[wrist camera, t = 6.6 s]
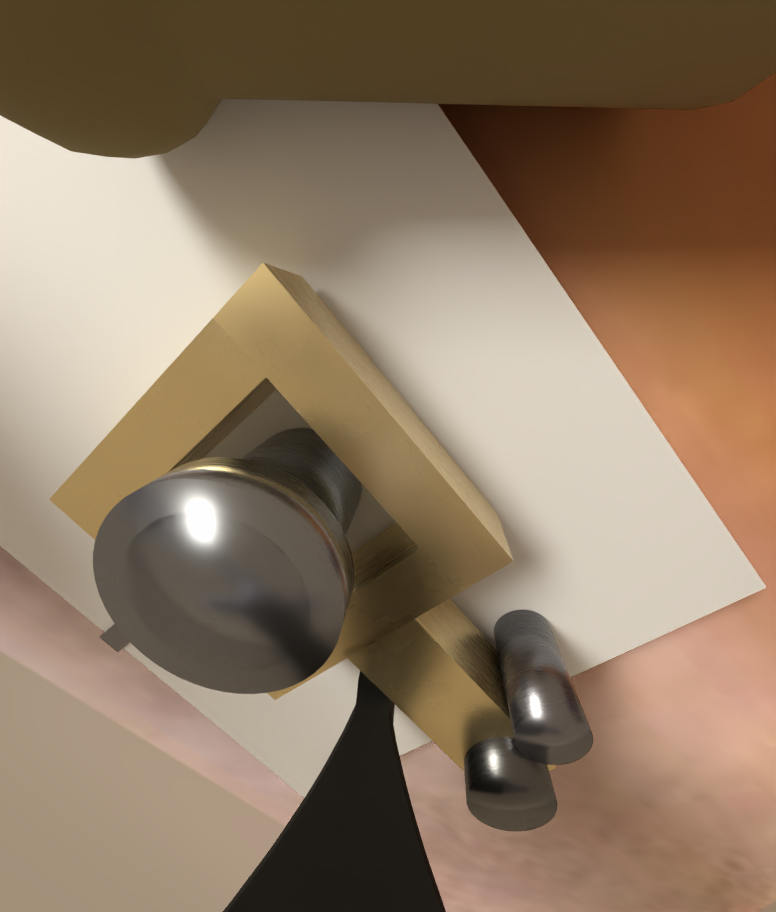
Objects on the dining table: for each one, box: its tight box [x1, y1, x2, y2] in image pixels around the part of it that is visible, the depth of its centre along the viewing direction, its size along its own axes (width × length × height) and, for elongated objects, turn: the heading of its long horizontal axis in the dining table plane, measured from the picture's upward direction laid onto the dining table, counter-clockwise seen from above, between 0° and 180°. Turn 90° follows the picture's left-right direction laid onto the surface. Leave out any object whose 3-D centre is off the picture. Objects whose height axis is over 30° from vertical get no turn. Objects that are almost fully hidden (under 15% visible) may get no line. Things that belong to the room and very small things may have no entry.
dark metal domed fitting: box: [93, 428, 593, 765], centre depth 10 cm, size 12×12×4 cm
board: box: [0, 99, 767, 798], centre depth 11 cm, size 22×17×1 cm
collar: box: [49, 263, 557, 831], centre depth 9 cm, size 13×7×3 cm, turn 40°
